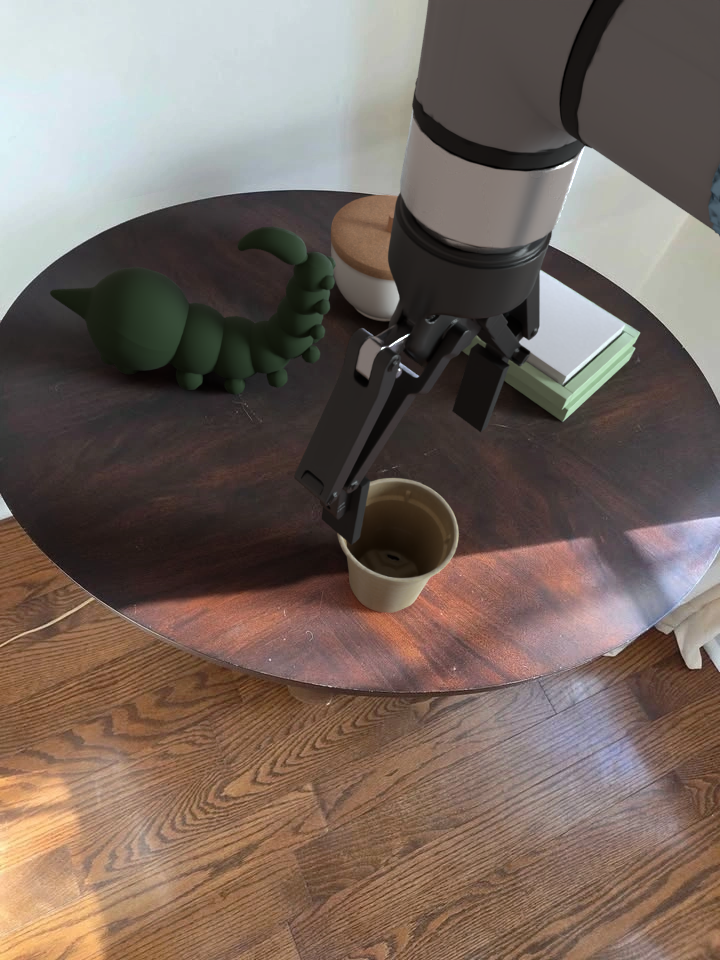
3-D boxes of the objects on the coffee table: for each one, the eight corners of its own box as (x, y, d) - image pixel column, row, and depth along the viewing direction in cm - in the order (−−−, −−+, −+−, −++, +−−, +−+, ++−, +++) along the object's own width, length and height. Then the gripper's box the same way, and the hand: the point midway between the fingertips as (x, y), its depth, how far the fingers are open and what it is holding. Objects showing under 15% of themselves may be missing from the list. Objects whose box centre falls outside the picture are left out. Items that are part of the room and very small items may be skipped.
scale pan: (620, 334, 83) (625, 324, 82) (561, 387, 78) (566, 376, 76) (536, 281, 87) (540, 270, 85) (474, 327, 81) (477, 316, 80)
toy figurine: (314, 356, 83) (72, 323, 80) (343, 206, 68) (46, 156, 64) (309, 425, 78) (49, 391, 74) (340, 277, 63) (15, 227, 59)
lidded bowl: (312, 323, 84) (317, 238, 75) (341, 252, 91) (349, 167, 82) (426, 350, 83) (445, 268, 74) (446, 276, 90) (465, 193, 81)
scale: (631, 357, 85) (644, 334, 83) (559, 425, 79) (570, 402, 76) (523, 287, 90) (531, 263, 88) (446, 345, 84) (452, 321, 81)
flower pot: (325, 535, 69) (331, 479, 62) (429, 530, 70) (447, 474, 63) (335, 634, 63) (343, 585, 56) (447, 627, 65) (469, 578, 58)
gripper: (560, 86, 43) (476, 353, 61) (218, 281, 32) (235, 544, 49) (676, 147, 41) (554, 408, 58) (351, 384, 29) (319, 623, 46)
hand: (408, 470), depth 54 cm, fingers open, 13 cm apart
